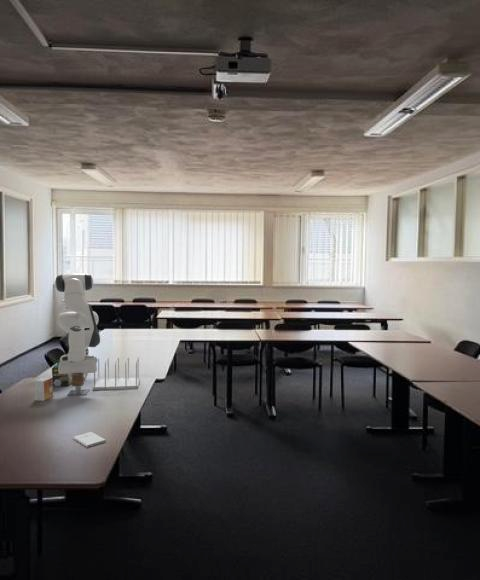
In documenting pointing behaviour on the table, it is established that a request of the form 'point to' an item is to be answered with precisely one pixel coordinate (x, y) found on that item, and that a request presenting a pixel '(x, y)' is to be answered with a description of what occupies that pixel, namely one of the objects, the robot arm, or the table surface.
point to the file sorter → (117, 379)
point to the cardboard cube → (77, 379)
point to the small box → (43, 389)
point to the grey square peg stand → (78, 391)
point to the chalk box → (59, 377)
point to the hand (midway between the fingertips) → (78, 381)
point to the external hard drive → (89, 439)
